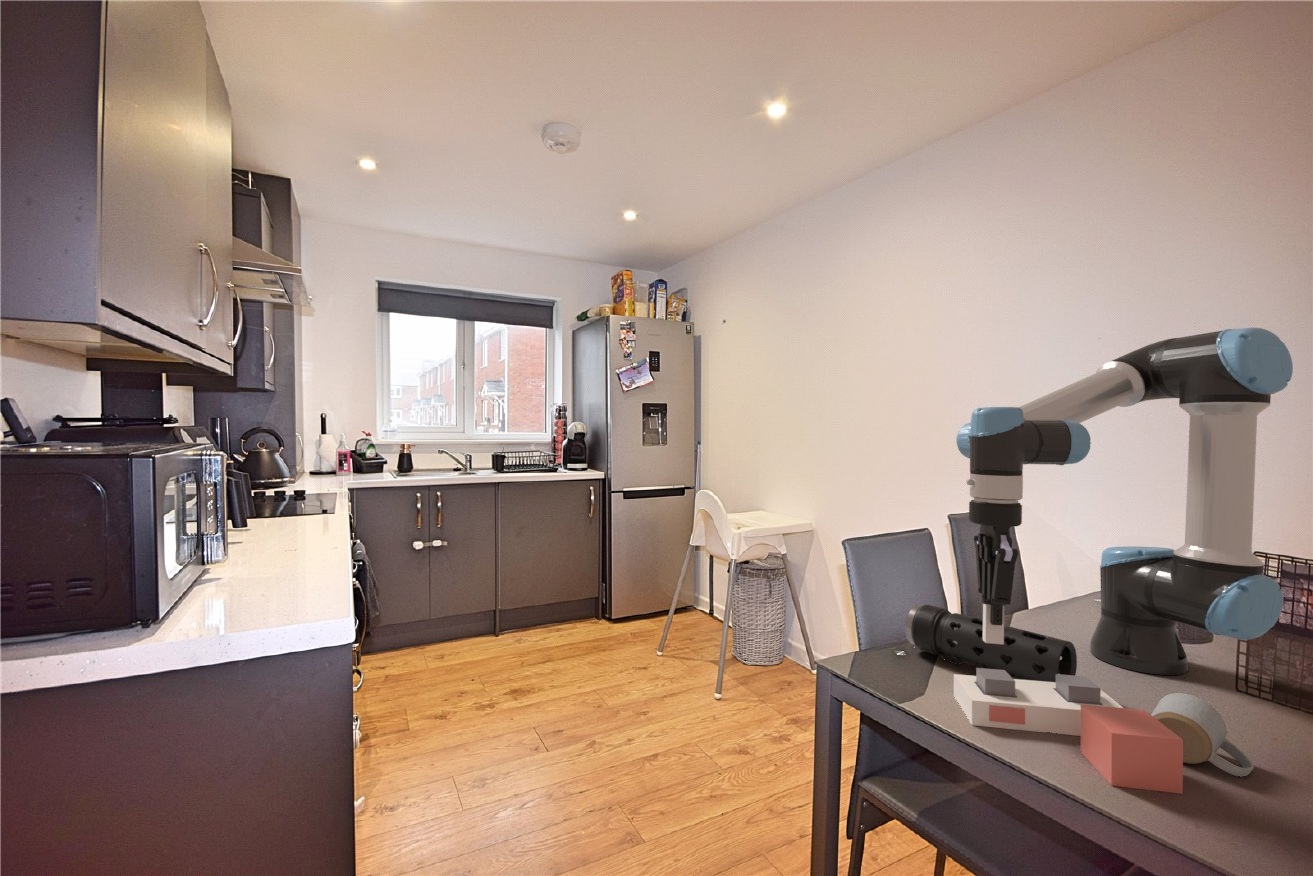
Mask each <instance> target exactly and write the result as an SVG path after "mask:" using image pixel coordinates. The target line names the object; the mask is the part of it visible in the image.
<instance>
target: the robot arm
mask: <svg viewBox="0 0 1313 876" xmlns="http://www.w3.org/2000/svg"><path fill="white" fill-rule="evenodd" d="M1293 366H1294V365H1293V358H1292V355H1291V353H1290V351H1289V348H1288V346H1286V343H1284V342H1283V341H1282V340H1281V338H1280V337H1279V336H1278V335H1277V334H1275V333H1274V332H1272V331H1271V330H1268V329H1265V328H1261V327H1244V328H1243V327H1241V328H1232V329H1231V328H1229V329H1228V328H1227V329H1224V330H1218V331H1217V330H1216V331H1211V332H1206V333H1200V334H1194V335H1188V336H1183V337H1182V336H1181V337H1174V338H1167V339H1163V340H1160V341H1157V342H1154V343H1149V344H1147V345H1145V346H1142V347H1140V348H1138V349H1135V350H1132V351H1131V352H1129V353H1127V354H1124V355H1122V356H1119V357H1117V358H1115V359H1112V360H1110V361H1108V362H1106V363H1104V364H1102V365H1101V366H1099V368H1097V370H1096V372H1095V373H1093V374H1091V375H1089V376H1086V377H1084V378H1082V379H1079V380H1077V381H1076V382H1073V383H1070V384H1069V385H1066V386H1064V387H1062V388H1060V389H1057V390H1055V391H1053V392H1050V393H1047V394H1046V395H1043V396H1041V397H1039V398H1037V399H1035V400H1031V401H1029V402H1027V403H1025V404H1023V405H1021V406H986V407H984V406H983V407H977V408H975V409H973V411H972V412H971V417H970V422H968V423H964V424H963V425H962V426H961V427H960V428H959V430H958V432H957V435H956V447H957V449H958V451H959V453H960V454H961V455H962V456H963V457H965V458H967V459H969V479H967V480H966V484H967V486H969V496H970V497H971V498H972V499H971V500H970V501H969V502H968V503H969V504H968V505H969V506H968V519H969V522H971V523H972V524H976V525H980V528H979V533H978V534H977V535H974V537H973V541H974V547H975V556H976V557H975V558H976V575H977V591H978V594H981V601H982V620H983V641H984V642H985V643H992V644H1004V625H1005V607H1006V605H1007V606H1011V603H1012V602H1011V601H1012V592H1013V585H1014V584H1013V583H1014V577H1015V568H1016V562H1017V558H1018V555H1019V551H1018V549H1017V548H1013V538H1012V537H1011V532H1010V528H1011V527H1014V528H1015V527H1019V526H1021V525H1022V522H1023V505H1022V504H1021V503H1020V502H1019V501H1021V500H1022V499H1023V493H1024V492H1023V490H1024V482H1023V481H1024V475H1023V472H1024V470H1023V469H1024V465H1056V466H1057V465H1058V466H1061V467H1062V466H1065V465H1072V464H1073V465H1074V464H1078V463H1079V462H1081V461H1083V460H1085V459H1086V457H1087V456H1088V454H1089V453H1090V450H1091V444H1092V442H1091V435H1090V433H1089V431H1088V429H1087V428H1086V427H1085V426H1084V425H1083V424H1082V423H1083V422H1086V421H1087V420H1091V419H1093V418H1094V417H1096V416H1099V415H1101V414H1104V413H1105V412H1108V411H1110V410H1112V409H1114V408H1117V407H1122V408H1126V407H1131V406H1134V405H1136V404H1138V403H1141V402H1146V401H1153V400H1164V399H1178V401H1179V402H1178V407H1179V408H1181V409H1182V410H1183V411H1184V412H1186V413H1187V415H1189V430H1188V434H1189V435H1188V449H1187V450H1188V453H1187V457H1188V458H1187V475H1186V476H1187V479H1186V482H1187V483H1186V500H1185V501H1186V503H1185V504H1186V505H1185V507H1186V508H1185V525H1184V526H1185V529H1184V530H1185V531H1184V543H1183V545H1181V546H1179V547H1178V548H1177V549H1174V548H1169V547H1160V546H1159V547H1158V546H1112V547H1107V548H1105V549H1104V550H1103V551H1102V552H1101V561H1100V565H1099V570H1100V618H1099V620H1098V623H1097V625H1096V627H1095V630H1094V631H1093V634H1092V637H1091V639H1090V642H1089V643H1090V644H1089V645H1090V653H1091V654H1092V656H1094V657H1095V658H1097V659H1098V660H1100V661H1103V662H1105V663H1108V664H1110V665H1113V666H1116V667H1119V668H1122V669H1123V668H1124V669H1126V670H1131V671H1133V672H1134V671H1135V672H1140V673H1145V674H1152V675H1163V676H1164V675H1167V676H1176V675H1177V676H1178V675H1182V674H1185V673H1187V672H1188V668H1189V667H1188V666H1189V665H1188V664H1189V663H1188V662H1189V660H1188V657H1187V654H1186V652H1185V651H1186V650H1185V648H1184V646H1183V644H1182V641H1181V638H1180V636H1179V634H1178V631H1177V629H1176V627H1177V626H1176V624H1177V623H1176V622H1178V623H1179V624H1183V625H1184V624H1185V625H1187V626H1190V627H1194V628H1196V629H1200V630H1204V631H1206V632H1209V633H1211V634H1213V635H1216V636H1223V637H1227V638H1232V639H1236V640H1240V641H1241V640H1242V641H1247V640H1254V639H1256V638H1259V637H1262V636H1264V635H1265V634H1266V633H1267V632H1269V630H1270V629H1272V628H1273V627H1274V626H1275V624H1276V623H1277V622H1278V620H1279V618H1280V616H1281V613H1282V611H1283V609H1284V608H1283V607H1284V606H1283V605H1284V593H1283V591H1282V589H1281V588H1280V585H1279V583H1278V582H1277V581H1276V580H1274V579H1273V578H1271V577H1270V576H1267V575H1265V574H1264V572H1265V571H1264V570H1265V569H1264V568H1265V565H1264V564H1265V563H1264V561H1262V560H1261V559H1260V558H1259V557H1258V556H1256V555H1255V554H1254V553H1253V551H1252V550H1253V527H1254V507H1255V506H1254V502H1255V477H1256V456H1257V455H1256V448H1257V432H1258V431H1257V430H1258V429H1257V427H1258V415H1259V414H1260V413H1262V412H1264V411H1265V410H1266V409H1267V408H1269V407H1270V406H1271V397H1272V395H1273V394H1276V393H1278V392H1281V391H1283V390H1284V389H1285V388H1287V386H1288V383H1289V382H1290V381H1291V379H1292V376H1293V369H1294V368H1293Z"/></svg>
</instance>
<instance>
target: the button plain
mask: <svg viewBox="0 0 1313 876" xmlns="http://www.w3.org/2000/svg"><path fill="white" fill-rule="evenodd" d="M1100 689H1101V687H1099V686H1098V684H1096V683H1095V682H1093V681H1092V680H1091V679H1090V678H1089V677H1087V676H1084V675H1075V676H1074V675H1061V674H1056V692H1057V693H1058V694H1059V695H1061V696H1062V697H1063V698H1064V699H1065V700H1066V701H1067V702H1073V703H1084V704H1096V705H1100Z"/></svg>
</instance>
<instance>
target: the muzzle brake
mask: <svg viewBox="0 0 1313 876" xmlns="http://www.w3.org/2000/svg"><path fill="white" fill-rule="evenodd" d="M904 632H905V637H906V639H907V641H908V642H909V643H910V644H912V645H914V646H915V647H916V648H917V649H918V650H920V651H923V652H927V653H930V654H933V655H935V656H941V659H942V660H943V659H945V660H948V661H951V662H953V663H952V664H955V663H956V664H955V665H958V664H960V665H962V664H963V663H964V664H966V665H969V666H972V667H976V668H984V669H997V670H1005V671H1006V672H1007V673H1008V674H1009V675H1010V676H1011V677H1012V678H1013V679H1020V680H1033V681H1045V682H1056V674H1061V675H1074V676H1077V668H1078V667H1077V665H1078V657H1077V650H1076V647H1075V645H1074V644H1073V642H1072V641H1070V640H1069V641H1068V640H1065V639H1060V638H1056V637H1053V636H1049V635H1046V634H1045V635H1044V634H1041V633H1036V632H1034V631H1033V632H1032V631H1029V630H1025V629H1021V628H1017V627H1013V626H1009V625H1005V624H1004V644H992V643H985V642H984V641H983V618H977V617H974V616H970V615H966V614H961V613H958V612H954V613H952V612H951V611H949V610H948V609H946V608H945V607H944V608H943V607H940V606H936V605H932V604H931V605H930V604H923V605H918V604H917V605H913V606H912V607H911V608H910V610H909V611H908V613H907V616H906V619H905V625H904ZM945 660H944V661H945ZM948 661H947V662H948ZM951 662H950V663H951ZM961 663H962V664H961Z"/></svg>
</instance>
